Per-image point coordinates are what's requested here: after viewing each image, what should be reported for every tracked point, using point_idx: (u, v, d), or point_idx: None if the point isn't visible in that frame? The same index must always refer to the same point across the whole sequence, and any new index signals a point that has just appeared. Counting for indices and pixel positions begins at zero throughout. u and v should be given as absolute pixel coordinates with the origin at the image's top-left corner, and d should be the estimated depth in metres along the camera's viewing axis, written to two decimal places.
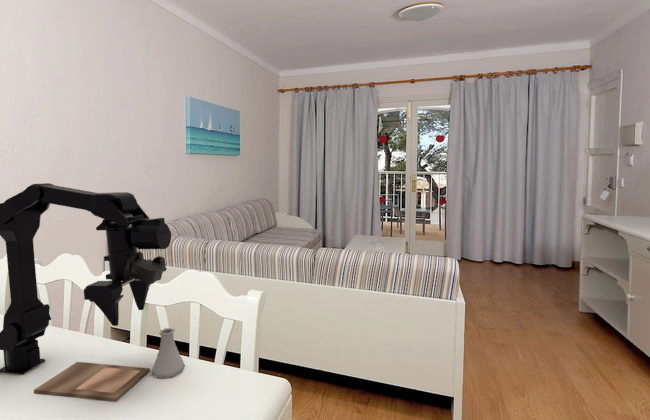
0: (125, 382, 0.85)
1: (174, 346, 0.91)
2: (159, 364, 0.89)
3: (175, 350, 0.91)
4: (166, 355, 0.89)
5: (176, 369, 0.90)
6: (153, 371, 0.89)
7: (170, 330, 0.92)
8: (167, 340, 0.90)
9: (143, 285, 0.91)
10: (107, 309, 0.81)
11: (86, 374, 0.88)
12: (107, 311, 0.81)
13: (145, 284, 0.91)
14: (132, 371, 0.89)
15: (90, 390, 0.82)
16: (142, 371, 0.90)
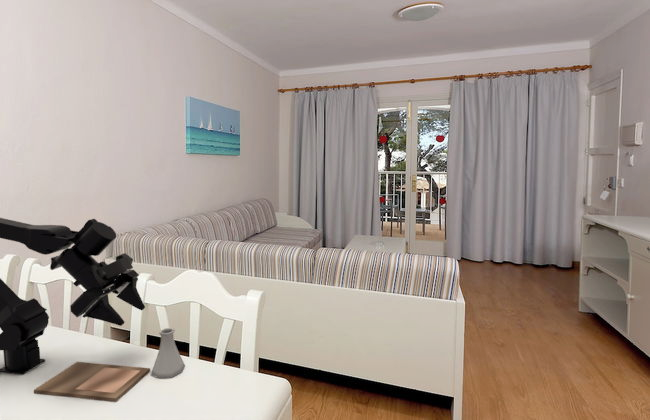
0: (125, 382, 0.85)
1: (174, 346, 0.91)
2: (159, 364, 0.89)
3: (175, 350, 0.91)
4: (166, 355, 0.89)
5: (176, 369, 0.90)
6: (153, 371, 0.89)
7: (170, 330, 0.92)
8: (167, 340, 0.90)
9: (129, 289, 0.95)
10: (104, 315, 0.84)
11: (86, 374, 0.88)
12: (106, 316, 0.84)
13: (130, 287, 0.95)
14: (132, 371, 0.89)
15: (90, 390, 0.82)
16: (142, 371, 0.90)
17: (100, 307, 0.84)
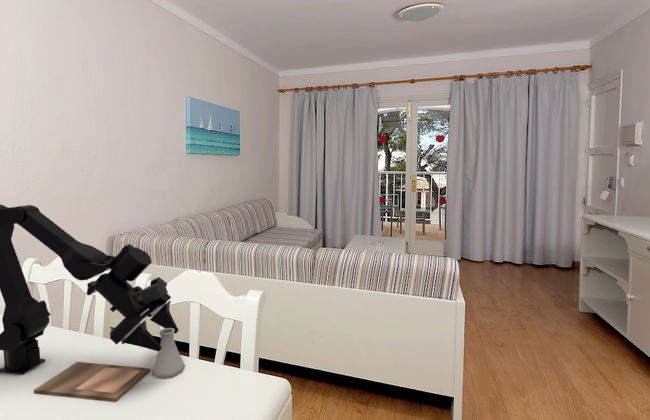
0: (125, 382, 0.85)
1: (174, 346, 0.91)
2: (159, 364, 0.89)
3: (175, 350, 0.91)
4: (166, 355, 0.89)
5: (176, 369, 0.90)
6: (153, 371, 0.89)
7: (170, 330, 0.92)
8: (167, 340, 0.90)
9: (163, 312, 0.95)
10: (142, 341, 0.85)
11: (86, 374, 0.88)
12: (144, 342, 0.85)
13: (164, 310, 0.95)
14: (132, 371, 0.89)
15: (90, 390, 0.82)
16: (142, 371, 0.90)
17: (138, 333, 0.85)
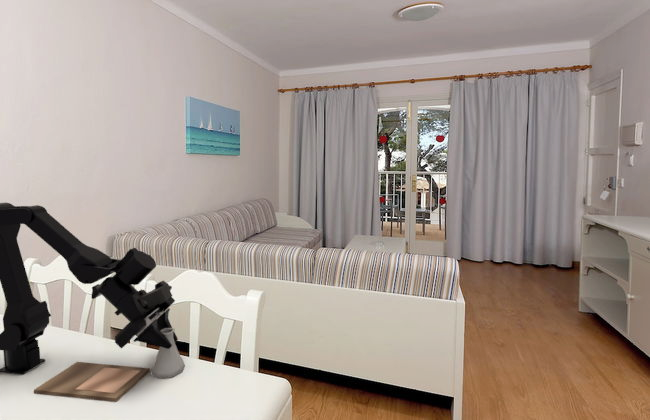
0: (125, 382, 0.85)
1: (174, 346, 0.91)
2: (159, 363, 0.89)
3: (175, 350, 0.91)
4: (166, 355, 0.89)
5: (176, 369, 0.90)
6: (153, 371, 0.89)
7: (170, 330, 0.92)
8: None
9: (161, 320, 0.92)
10: (153, 339, 0.88)
11: (86, 374, 0.88)
12: (155, 340, 0.88)
13: (162, 318, 0.92)
14: (132, 371, 0.89)
15: (90, 390, 0.82)
16: (142, 371, 0.90)
17: (150, 331, 0.88)
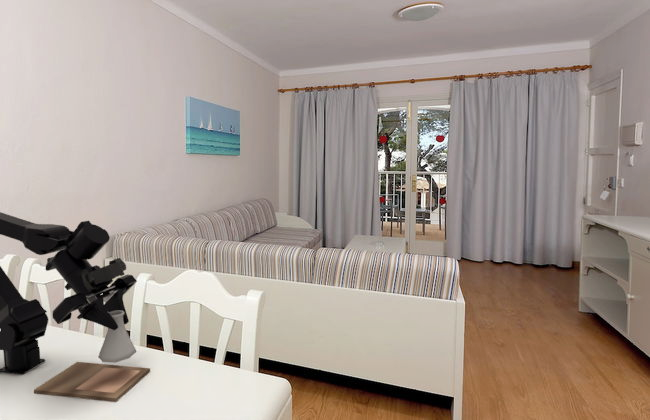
0: (125, 382, 0.85)
1: (122, 330, 0.85)
2: (105, 347, 0.84)
3: (124, 334, 0.85)
4: (112, 338, 0.84)
5: (122, 355, 0.84)
6: (100, 354, 0.85)
7: (120, 312, 0.86)
8: None
9: (114, 300, 0.87)
10: (99, 318, 0.83)
11: (86, 374, 0.88)
12: (100, 320, 0.83)
13: (115, 298, 0.87)
14: (132, 371, 0.89)
15: (90, 390, 0.82)
16: (142, 371, 0.90)
17: (95, 309, 0.83)
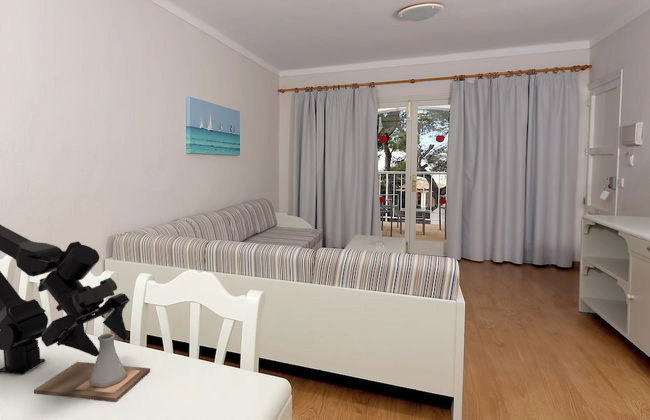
0: (125, 382, 0.85)
1: (112, 354, 0.85)
2: (95, 371, 0.84)
3: (114, 358, 0.85)
4: (102, 362, 0.84)
5: (112, 379, 0.84)
6: (90, 378, 0.84)
7: (111, 336, 0.86)
8: (104, 347, 0.84)
9: (114, 316, 0.89)
10: (79, 344, 0.80)
11: (86, 374, 0.88)
12: (81, 346, 0.80)
13: (114, 314, 0.89)
14: (132, 371, 0.89)
15: (90, 390, 0.82)
16: (142, 371, 0.90)
17: (76, 335, 0.80)
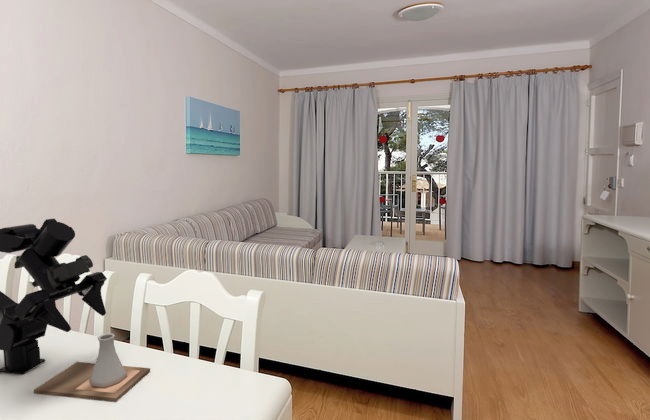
0: (125, 382, 0.85)
1: (112, 354, 0.85)
2: (95, 371, 0.84)
3: (114, 358, 0.85)
4: (102, 362, 0.84)
5: (112, 379, 0.84)
6: (90, 378, 0.84)
7: (111, 336, 0.86)
8: (104, 347, 0.84)
9: (92, 292, 0.91)
10: (51, 319, 0.81)
11: (86, 374, 0.88)
12: (52, 321, 0.81)
13: (93, 290, 0.91)
14: (132, 371, 0.89)
15: (90, 390, 0.82)
16: (142, 371, 0.90)
17: (47, 311, 0.81)
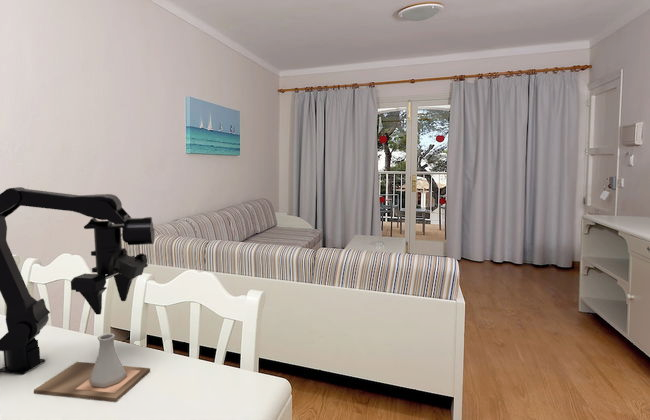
0: (125, 382, 0.85)
1: (112, 354, 0.85)
2: (95, 371, 0.84)
3: (114, 358, 0.85)
4: (102, 362, 0.84)
5: (112, 379, 0.84)
6: (90, 378, 0.84)
7: (111, 336, 0.86)
8: (104, 347, 0.84)
9: (126, 279, 1.00)
10: (91, 299, 0.90)
11: (86, 374, 0.88)
12: (91, 301, 0.90)
13: (128, 278, 1.00)
14: (132, 371, 0.89)
15: (90, 390, 0.82)
16: (142, 371, 0.90)
17: None
